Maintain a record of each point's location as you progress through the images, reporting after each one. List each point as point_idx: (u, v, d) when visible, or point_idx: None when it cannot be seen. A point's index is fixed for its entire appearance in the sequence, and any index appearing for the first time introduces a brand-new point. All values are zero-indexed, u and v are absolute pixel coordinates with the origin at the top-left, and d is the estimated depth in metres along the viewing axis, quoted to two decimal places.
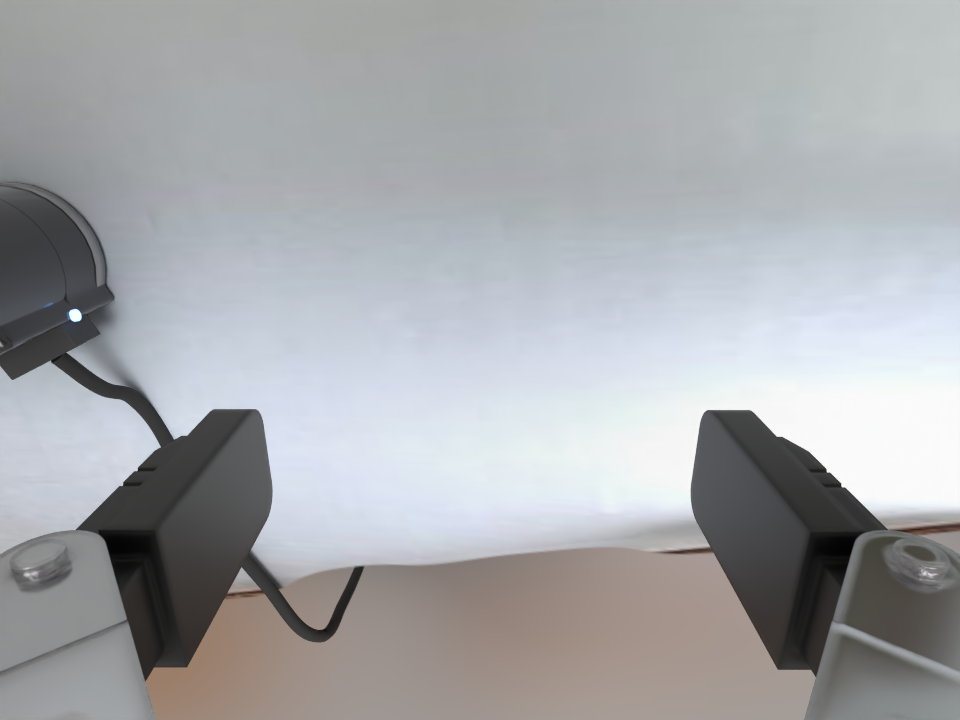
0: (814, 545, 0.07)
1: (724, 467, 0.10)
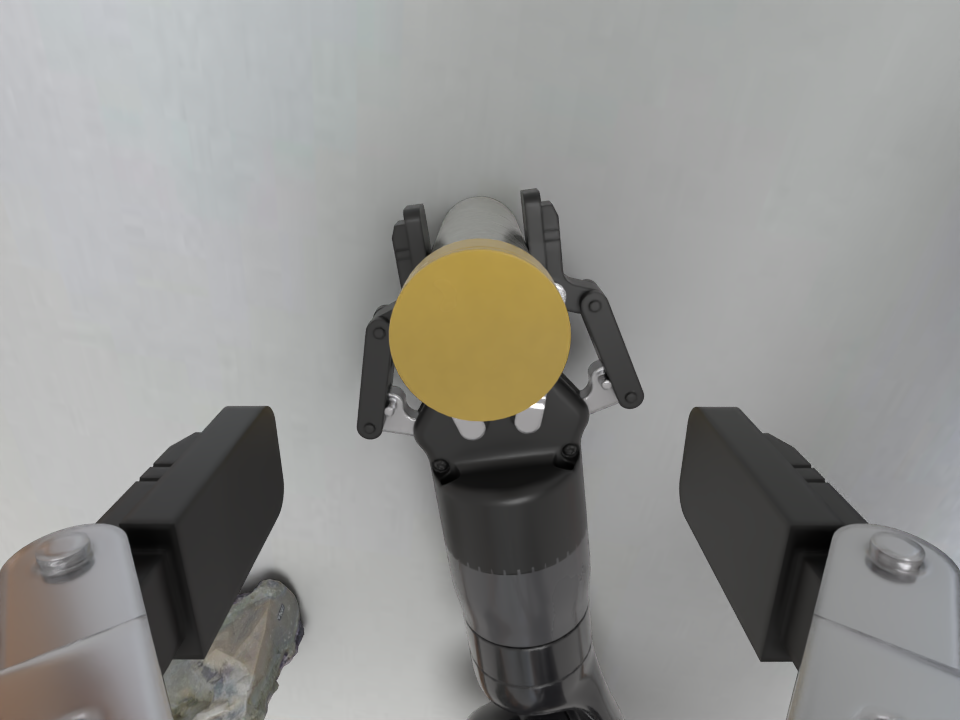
0: (794, 538, 0.07)
1: (710, 463, 0.10)
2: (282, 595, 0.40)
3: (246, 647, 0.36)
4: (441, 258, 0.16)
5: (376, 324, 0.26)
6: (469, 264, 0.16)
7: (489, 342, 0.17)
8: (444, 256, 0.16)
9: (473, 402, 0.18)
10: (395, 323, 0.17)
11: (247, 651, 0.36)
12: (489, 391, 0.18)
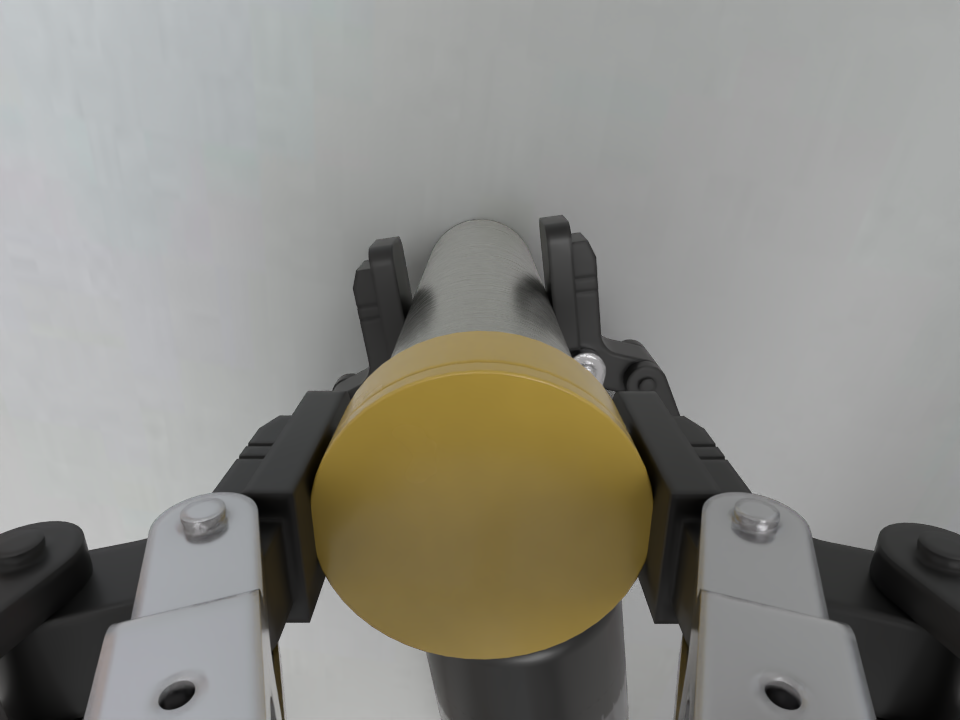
0: (676, 506, 0.08)
1: None
2: None
3: None
4: (405, 387, 0.08)
5: None
6: (461, 398, 0.08)
7: (500, 534, 0.09)
8: (411, 383, 0.08)
9: (469, 630, 0.10)
10: (320, 501, 0.09)
11: None
12: (499, 612, 0.10)
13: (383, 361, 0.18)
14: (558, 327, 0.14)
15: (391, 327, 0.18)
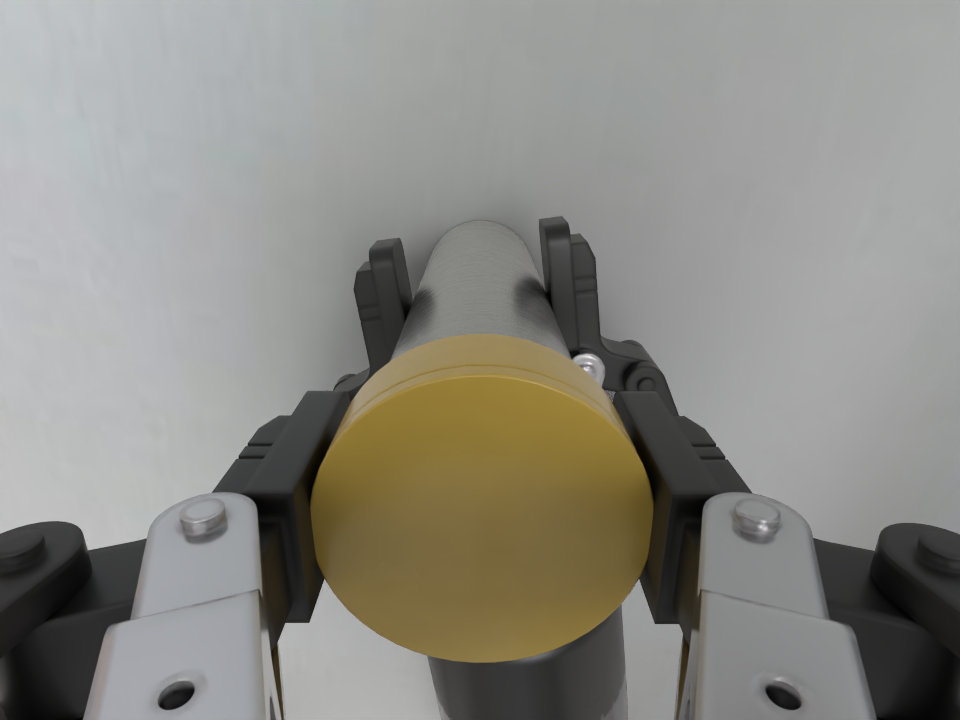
0: (677, 507, 0.08)
1: None
2: None
3: None
4: None
5: None
6: (336, 540, 0.09)
7: (487, 519, 0.09)
8: None
9: (608, 552, 0.09)
10: (440, 651, 0.10)
11: None
12: (590, 524, 0.09)
13: (383, 361, 0.18)
14: (557, 327, 0.14)
15: (391, 327, 0.18)
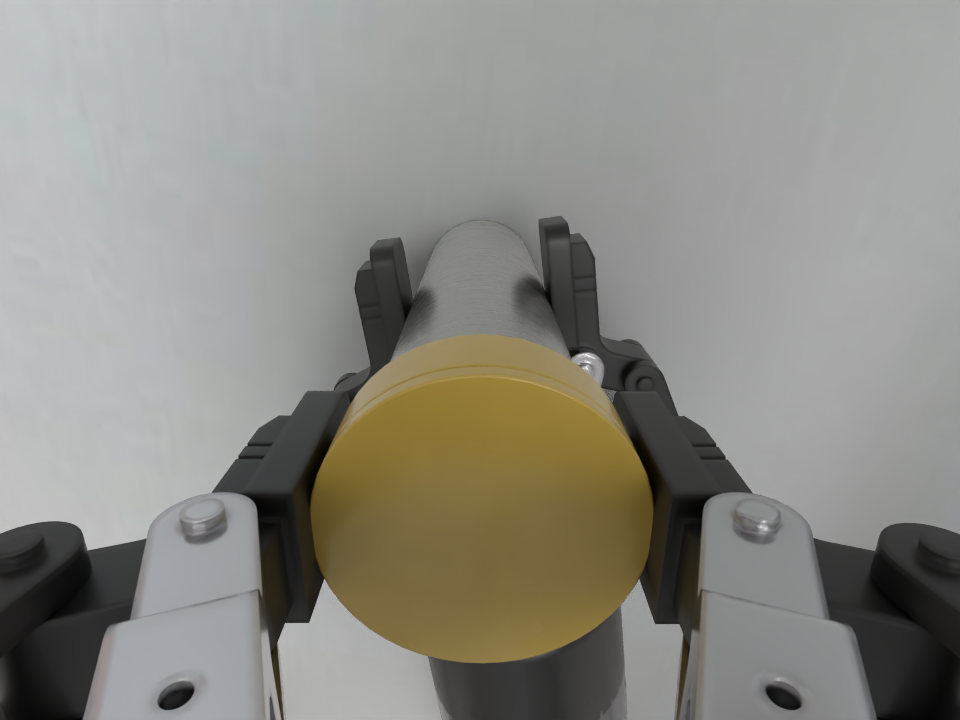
0: (677, 507, 0.08)
1: None
2: None
3: None
4: None
5: None
6: (478, 646, 0.10)
7: (464, 528, 0.09)
8: (516, 659, 0.10)
9: (517, 421, 0.08)
10: (628, 579, 0.09)
11: None
12: (479, 438, 0.08)
13: (384, 360, 0.19)
14: (557, 326, 0.15)
15: (392, 327, 0.18)
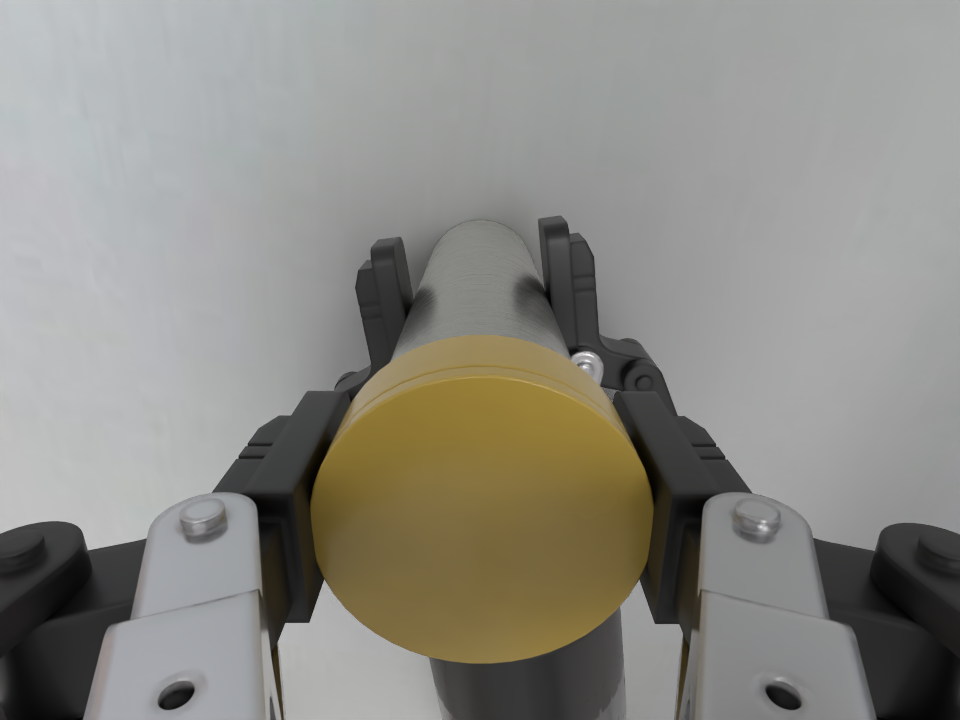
0: (677, 507, 0.08)
1: None
2: None
3: None
4: (653, 509, 0.09)
5: None
6: (626, 547, 0.09)
7: (473, 549, 0.09)
8: None
9: (355, 499, 0.09)
10: (557, 401, 0.08)
11: None
12: (373, 529, 0.09)
13: (385, 359, 0.19)
14: (556, 325, 0.15)
15: (393, 325, 0.18)
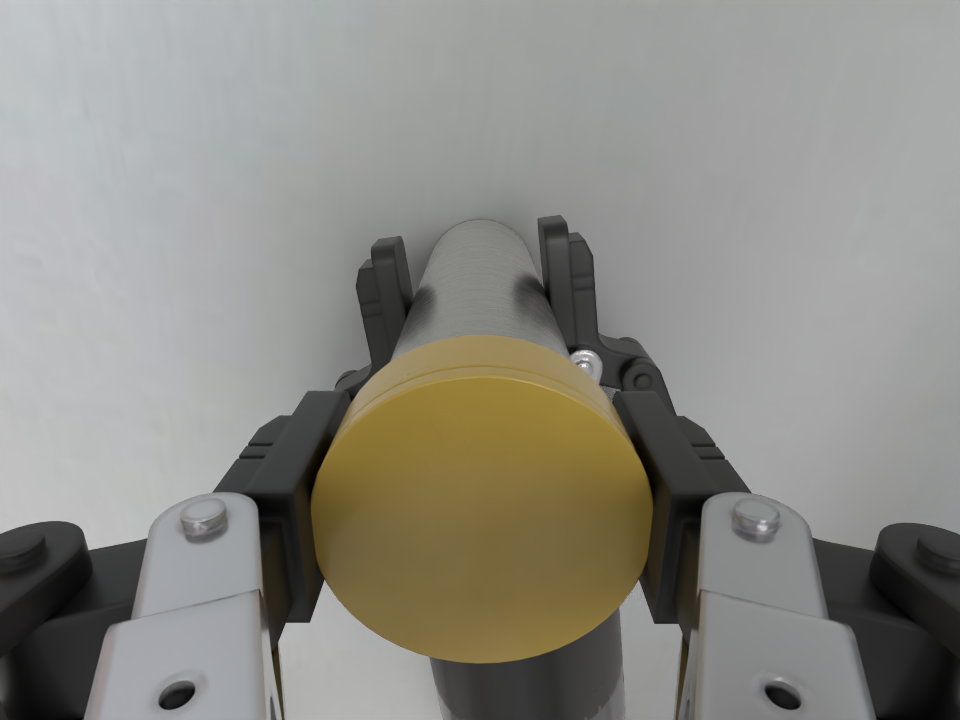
0: (676, 506, 0.08)
1: None
2: None
3: None
4: (461, 378, 0.08)
5: None
6: (511, 404, 0.08)
7: (497, 542, 0.09)
8: (468, 376, 0.08)
9: (433, 627, 0.10)
10: (334, 464, 0.09)
11: None
12: (468, 617, 0.10)
13: (385, 358, 0.19)
14: (556, 324, 0.15)
15: (393, 324, 0.18)
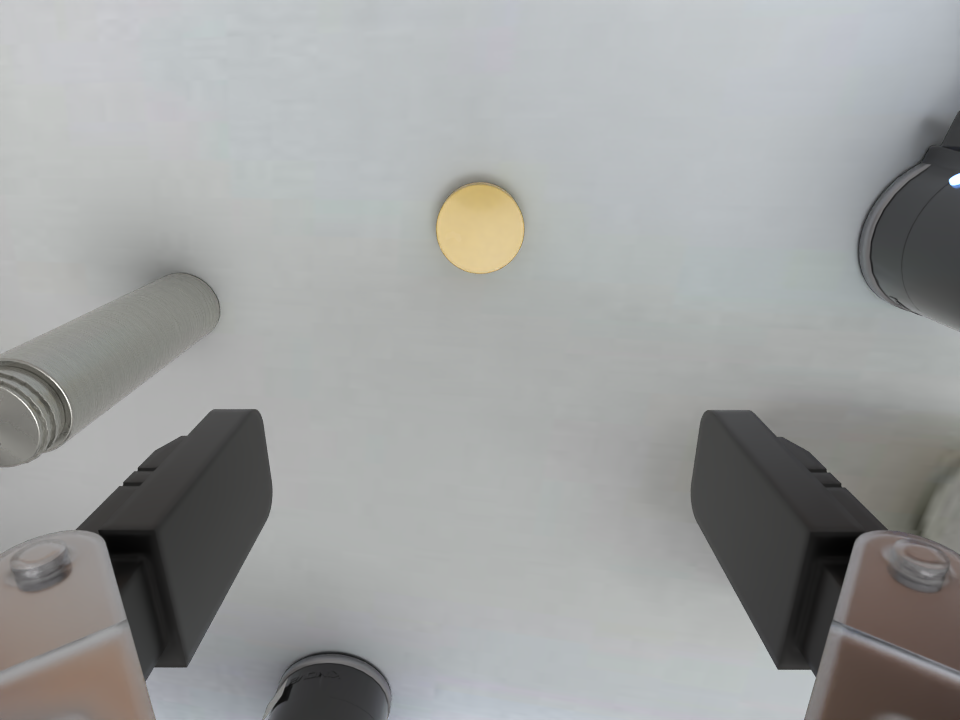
0: (814, 545, 0.07)
1: (724, 467, 0.10)
2: None
3: None
4: (436, 231, 0.35)
5: None
6: (443, 220, 0.35)
7: (483, 226, 0.35)
8: (436, 230, 0.35)
9: (509, 245, 0.35)
10: (457, 264, 0.36)
11: None
12: (507, 236, 0.35)
13: None
14: (116, 403, 0.29)
15: None
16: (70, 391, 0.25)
